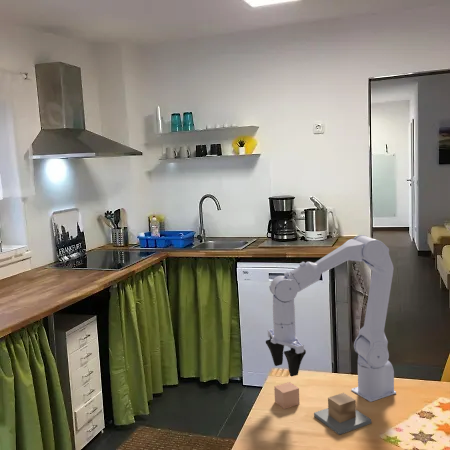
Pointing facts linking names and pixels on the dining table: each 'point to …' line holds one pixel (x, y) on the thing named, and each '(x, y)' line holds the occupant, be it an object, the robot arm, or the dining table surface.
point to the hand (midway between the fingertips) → (286, 370)
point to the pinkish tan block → (286, 395)
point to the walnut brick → (341, 407)
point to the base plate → (343, 426)
